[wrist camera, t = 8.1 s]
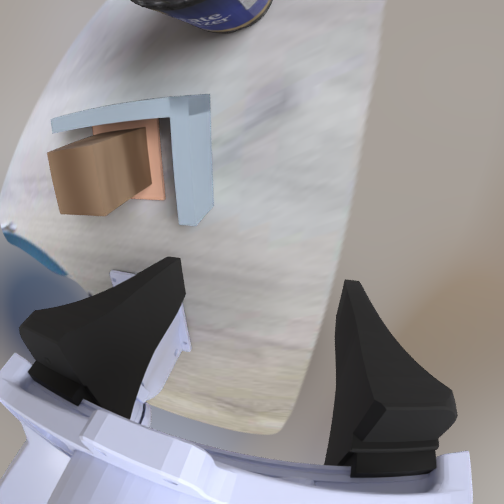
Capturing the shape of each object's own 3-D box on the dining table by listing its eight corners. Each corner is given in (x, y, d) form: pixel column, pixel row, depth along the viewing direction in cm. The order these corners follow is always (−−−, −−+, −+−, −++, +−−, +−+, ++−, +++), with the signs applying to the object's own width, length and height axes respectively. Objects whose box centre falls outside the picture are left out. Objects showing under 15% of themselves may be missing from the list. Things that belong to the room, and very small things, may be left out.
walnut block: (145, 127, 19) (92, 145, 14) (152, 183, 22) (105, 216, 17) (100, 132, 20) (47, 152, 15) (108, 184, 22) (60, 214, 17)
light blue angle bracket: (213, 205, 22) (195, 226, 19) (92, 198, 24) (67, 215, 21) (210, 93, 18) (188, 95, 15) (80, 111, 20) (50, 119, 17)
